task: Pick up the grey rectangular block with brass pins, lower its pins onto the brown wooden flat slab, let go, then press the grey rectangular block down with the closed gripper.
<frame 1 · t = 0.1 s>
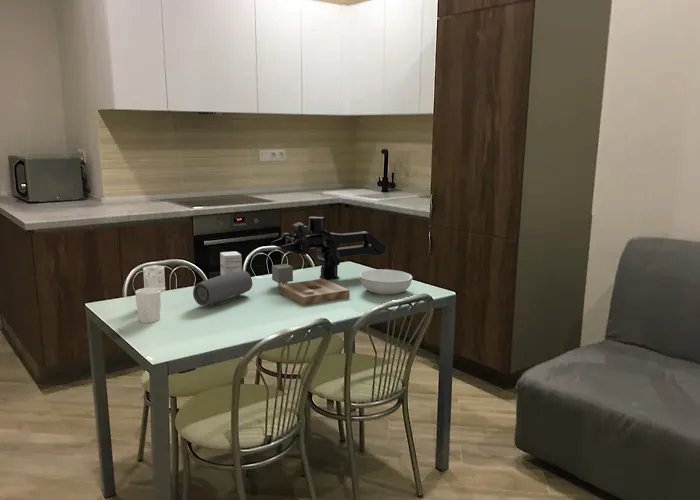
hand: (275, 245, 238), 17 cm above the table, tool horizontal, fingers open, 9 cm apart
brown wooden flat slab: (313, 294, 228), on the table
bluetooth speaker: (224, 301, 218), on the table
white tall cylindrical part: (155, 306, 211), on the table
serving bowl: (385, 292, 234), on the table
supplement box: (231, 283, 243), on the table
grey rectangular block: (282, 286, 239), on the table
white cup: (149, 320, 196), on the table
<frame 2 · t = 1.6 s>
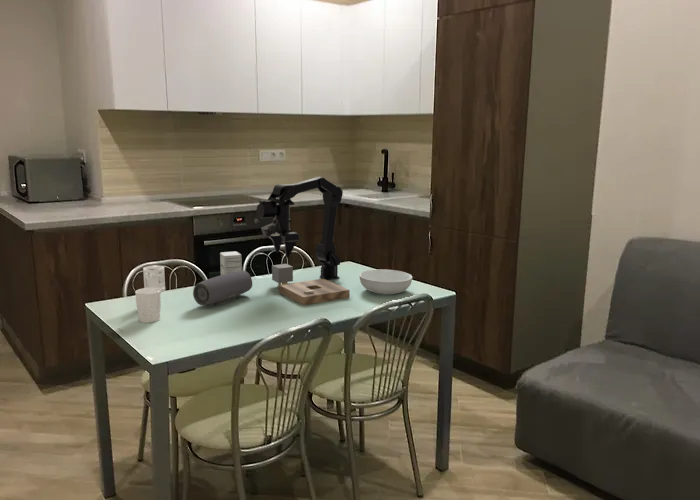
hand: (282, 255, 237), 13 cm above the table, tool pointing down, fingers open, 9 cm apart
nothing on the table moved.
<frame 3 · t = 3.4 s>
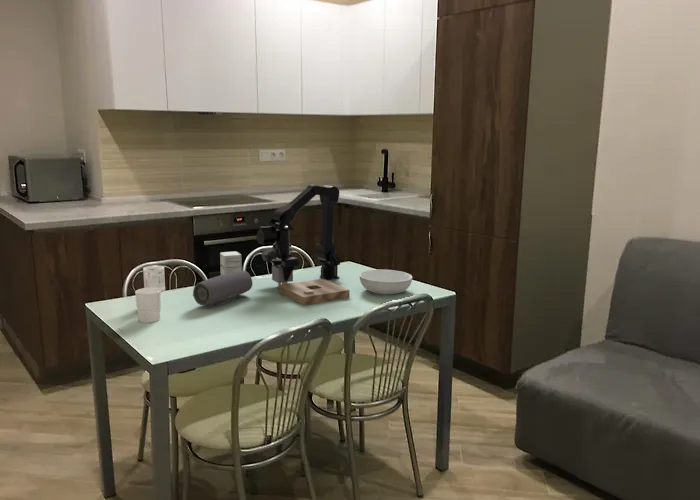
hand: (282, 279, 239), 3 cm above the table, tool pointing down, fingers closed on grey rectangular block, 6 cm apart
grey rectangular block: (282, 286, 239), on the table, touching gripper
everything else where it was.
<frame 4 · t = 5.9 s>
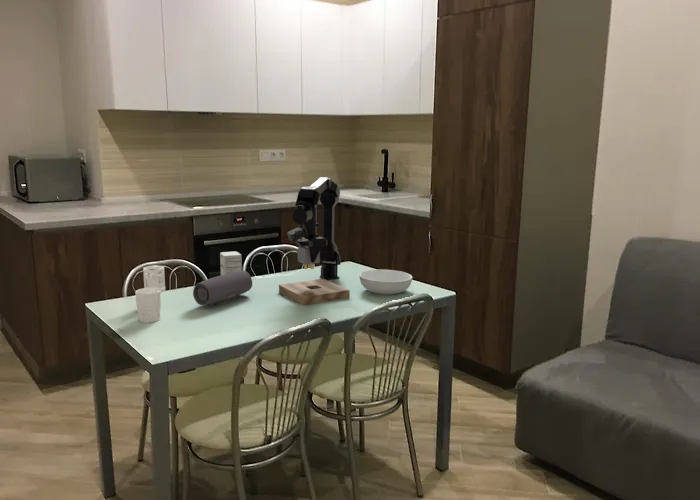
hand: (308, 260, 227), 13 cm above the table, tool pointing down, fingers closed on grey rectangular block, 6 cm apart
grey rectangular block: (308, 268, 227), point 10 cm above the table, touching gripper
everything else where it was.
when the fingers open (4 cm above the table, at t = 8.3 s): grey rectangular block stays where it is, resting on brown wooden flat slab.
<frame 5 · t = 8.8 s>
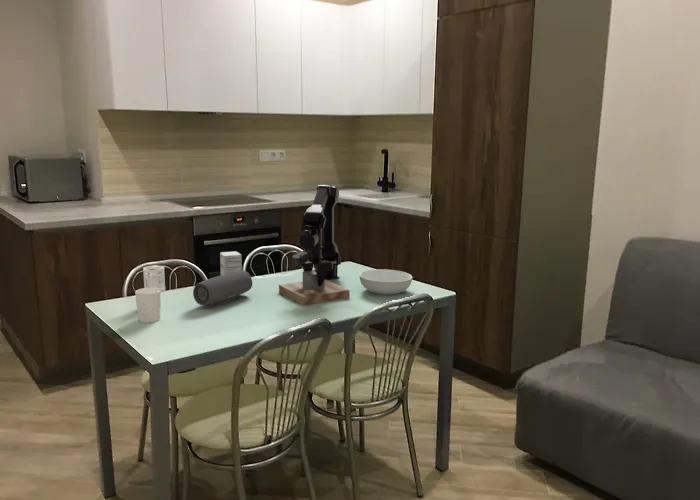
hand: (313, 283, 227), 4 cm above the table, tool pointing down, fingers open, 9 cm apart
grey rectangular block: (313, 293, 228), resting on brown wooden flat slab
everything else where it was.
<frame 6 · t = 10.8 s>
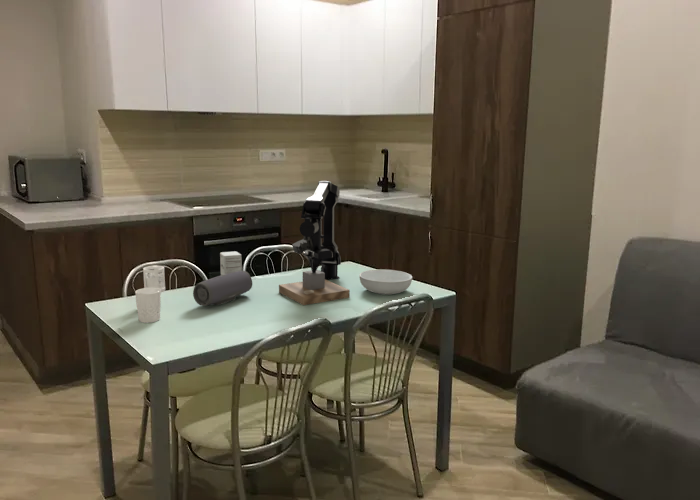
hand: (313, 272, 226), 9 cm above the table, tool pointing down, fingers closed, pressing on grey rectangular block
grey rectangular block: (313, 293, 228), resting on brown wooden flat slab, touching gripper
everything else where it was.
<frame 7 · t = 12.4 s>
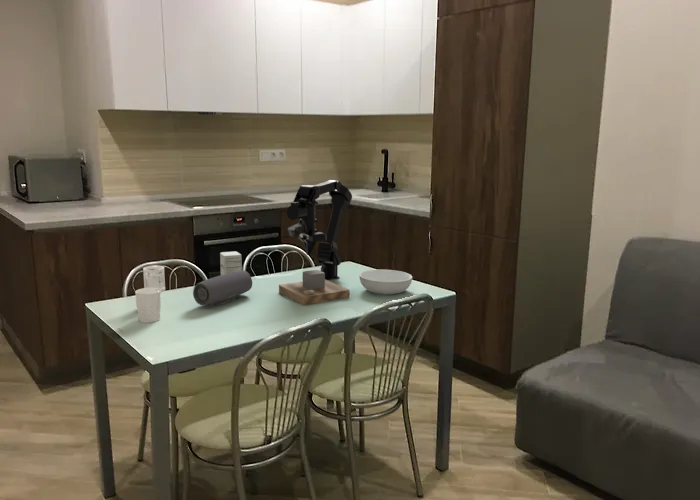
hand: (308, 254, 239), 13 cm above the table, tool pointing down, fingers closed
grey rectangular block: (313, 293, 228), resting on brown wooden flat slab
everything else where it was.
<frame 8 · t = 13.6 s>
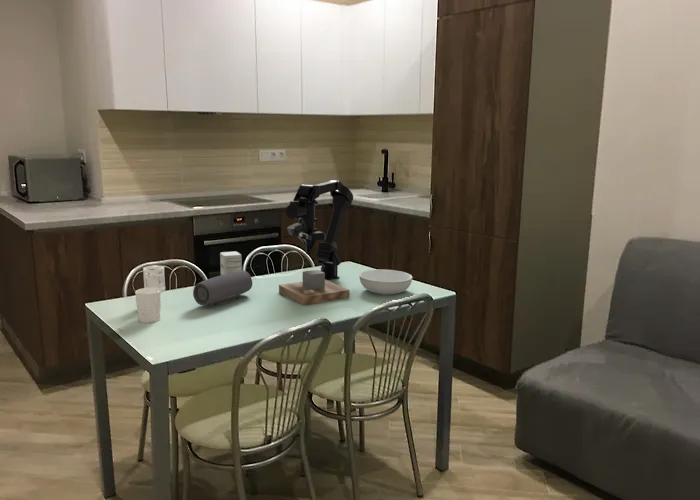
hand: (307, 254, 239), 13 cm above the table, tool pointing down, fingers closed
nothing on the table moved.
at the end: grey rectangular block 0.1 cm off-centre on the brown wooden flat slab, point 0.5 cm above the brown wooden flat slab's base; grey rectangular block tilted 0°; the gripper is holding nothing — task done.
